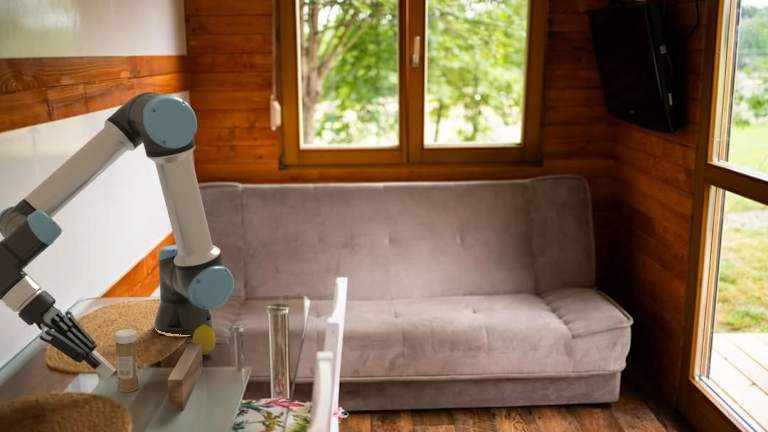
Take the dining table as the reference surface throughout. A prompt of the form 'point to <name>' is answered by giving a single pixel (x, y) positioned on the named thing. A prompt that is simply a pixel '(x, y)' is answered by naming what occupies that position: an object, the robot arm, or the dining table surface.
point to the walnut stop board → (185, 376)
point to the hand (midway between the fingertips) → (111, 374)
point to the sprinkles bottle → (126, 360)
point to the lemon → (205, 338)
